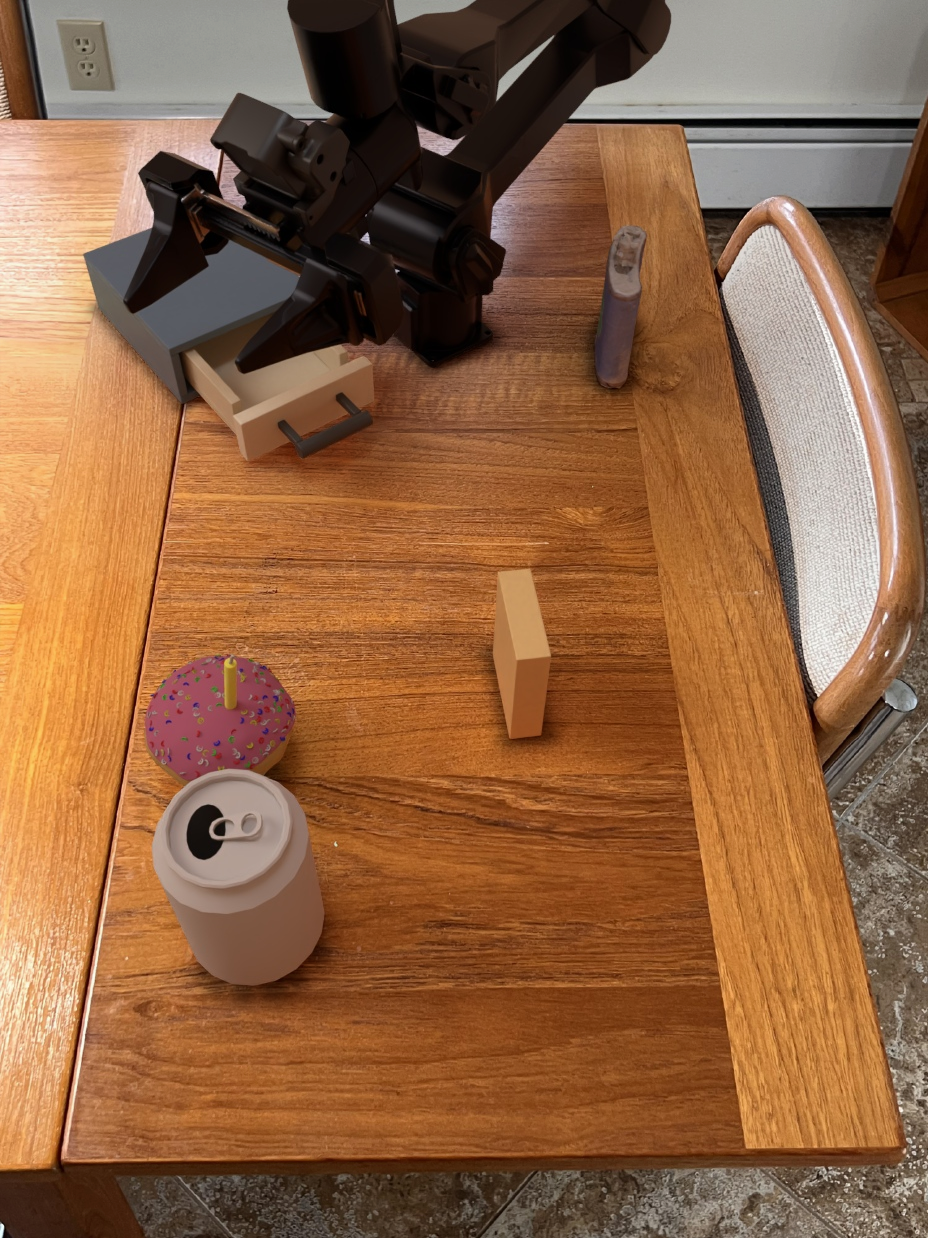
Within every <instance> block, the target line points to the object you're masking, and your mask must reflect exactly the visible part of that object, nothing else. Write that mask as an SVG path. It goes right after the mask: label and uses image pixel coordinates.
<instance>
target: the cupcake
mask: <svg viewBox="0 0 928 1238" xmlns="http://www.w3.org/2000/svg"><path fill="white" fill-rule="evenodd" d="M149 696H150V697H151V699H150V702H149V704H148V706H147V709H146V711H145V716H144V745H145V749H146V751H147V754H148V756H149V757H150V758H151V760H152V761H153V762H154V763H155V764H156V765H157V766H158V767H159V768H160V769H161V770H162V771H164V772H165V773H166V774H167V775H168V776H170V777H171V778H172V779H174V780H175V781H176V782H178V783H179V784H180V785H182V786H184V787H185V786H186V785H187V784H188V783H189V782H191V781H193V780H195V779H197V778H199V777H201V776H203V775H205V774H207V773H210V772H215V771H220V770H225V769H240V770H250V771H252V772H255V773H257V774H260V775H263V776H265V775H266V774H267V772H268V771H269V770H271V768H273V766H275V765H276V764H277V763H279V762H280V761H281V759H282V758H283V757H284V755H285V752H286V751H287V748H288V745H289V741H290V738H291V737H292V734H293V730H294V726H295V723H296V718H297V717H296V716H297V713H296V705H295V702H294V699H293V698H292V697H291V695H290V694H289V693H288V691H287V690H286V689H285V687H284V686H283V684H282V683H281V681H280V679H279V678H278V677H277V676H276V675H275V674H274V673H273V671H272V668H270V667H269V668H268V667H267V666H266V665H262V664H261V663H260V662H258V661H257V662H256V661H255V660H254V659H253V657H250V658H246V657H240V656H237V655H235V654H228V653H226V655H221V654H216V655H215V656H214V655H213V656H212V655H211V656H204V657H197V658H195V659H194V660H192V661H191V660H190V661H188V662H187V664H184V665H183V666H181V667H180V668H178V669H174V670H173V672H172V673H169V674H168V675H167V676H166V679H165V678H163V680H162V681H161V684H159V685H158V687H157V689H156V691H155V692H154V693H152V694H150V695H149Z"/></svg>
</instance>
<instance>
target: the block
mask: <svg viewBox="0 0 928 1238" xmlns="http://www.w3.org/2000/svg"><path fill="white" fill-rule="evenodd" d="M495 595H496V596H495V612H494V613H495V614H494V629H493V644H492V645H493V646H492V658H493V663H494V668H495V673H496V677H497V683H498V684H497V685H498V689H499V695H500V698H501V703H502V708H503V713H504V714H503V715H504V718H505V723H506V728H507V734H508V739H510V740H513V739H523V738H531V737H538V736H542V733H543V723H544V715H545V707H546V700H547V692H548V684H549V676H550V669H551V662H552V652H551V648H550V645H549V644H550V643H549V639H548V636H547V632H546V627H545V623H544V620H543V619H544V618H543V616H542V615H543V614H542V611H541V606H540V602H539V598H538V594H537V590H536V585H535V580H534V576H533V573H532V569H531V568H522V569H512V570H501V571H498V572H497V579H496V593H495Z"/></svg>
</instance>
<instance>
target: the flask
mask: <svg viewBox="0 0 928 1238" xmlns="http://www.w3.org/2000/svg"><path fill="white" fill-rule="evenodd" d="M647 238H648V234H647V231H646V230H644V229H643V228H642V227H640V226H638V225H631V224H626V225H623V226H621V227H620V228H619V229H618V230H617V232H615V234H614V236H613V238H612V243H611V245H610V247H609V249H608V254H607V260H606V267H605V276H604V283H603V290H602V296H601V305H600V311H599V317H598V323H597V332H596V334H595V335H596V337H595V340H594V345H593V348H594V349H593V350H594V370H595V373H594V374H595V376H596V377H595V378H596V379H597V383H599V384H600V386H602V387H605V388H606V389H612V388H617V389H621V388H622V387H623V385H624V384H625V383H626V381H627V379H628V376H629V375H628V374H629V366H630V359H631V353H632V348H633V340H634V335H635V330H636V324H637V319H638V313H639V308H640V303H641V302H640V301H641V298H642V294H643V285H642V282H641V275H640V274H641V269H642V264H643V257H644V251H645V247H646V243H647Z"/></svg>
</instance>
